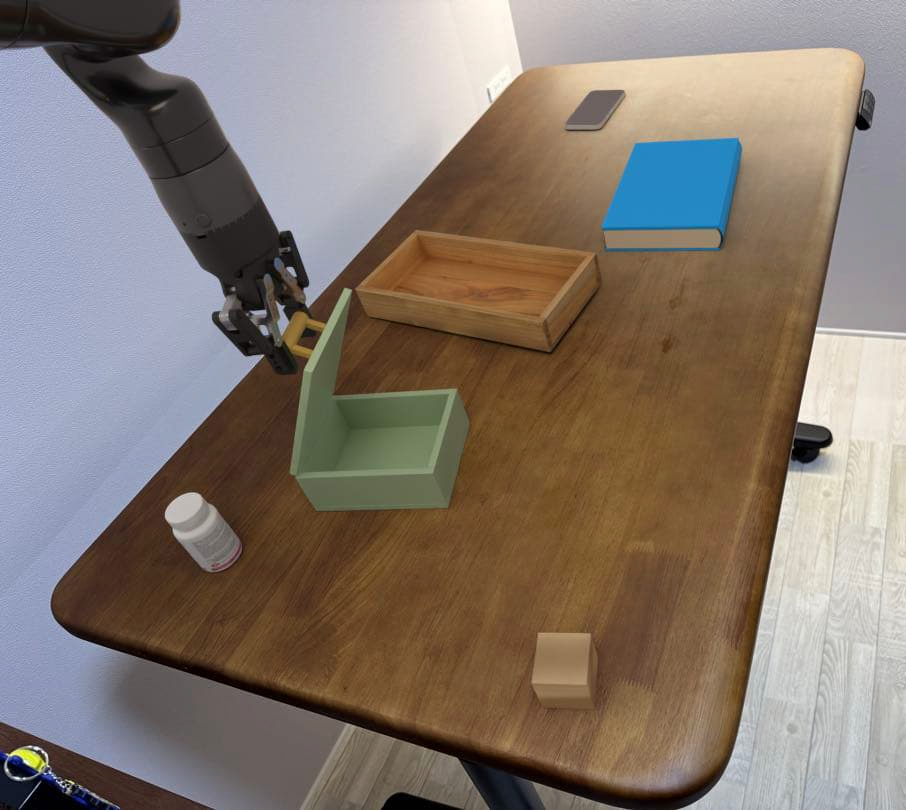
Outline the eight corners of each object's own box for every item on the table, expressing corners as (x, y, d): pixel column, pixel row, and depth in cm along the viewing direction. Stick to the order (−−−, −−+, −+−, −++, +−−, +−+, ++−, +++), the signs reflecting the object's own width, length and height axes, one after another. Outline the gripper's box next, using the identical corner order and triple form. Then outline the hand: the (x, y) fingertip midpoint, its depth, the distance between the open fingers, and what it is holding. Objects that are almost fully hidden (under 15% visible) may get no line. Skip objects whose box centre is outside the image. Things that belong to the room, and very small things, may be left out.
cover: (352, 289, 80) (308, 275, 79) (312, 372, 71) (262, 357, 71) (333, 394, 92) (294, 382, 91) (296, 476, 83) (253, 463, 82)
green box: (470, 423, 92) (457, 388, 88) (448, 508, 83) (432, 473, 80) (349, 429, 96) (331, 395, 92) (316, 511, 87) (294, 477, 83)
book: (600, 228, 110) (633, 141, 126) (605, 253, 113) (636, 165, 129) (724, 225, 104) (741, 134, 121) (725, 252, 107) (742, 159, 124)
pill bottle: (250, 537, 86) (214, 488, 80) (232, 574, 83) (193, 526, 77) (212, 536, 87) (174, 489, 81) (193, 573, 84) (152, 526, 78)
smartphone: (626, 89, 149) (600, 125, 140) (627, 94, 150) (600, 130, 140) (590, 90, 152) (562, 125, 143) (591, 94, 153) (563, 130, 143)
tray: (367, 318, 112) (353, 286, 108) (426, 258, 121) (415, 227, 117) (550, 358, 98) (542, 322, 94) (603, 287, 106) (597, 252, 103)
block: (594, 709, 65) (586, 684, 62) (541, 707, 66) (531, 683, 62) (598, 659, 68) (590, 633, 65) (548, 658, 69) (538, 632, 66)
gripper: (212, 170, 73) (291, 312, 84) (138, 258, 63) (238, 406, 74) (284, 159, 71) (354, 306, 83) (219, 247, 61) (309, 401, 73)
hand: (299, 352), depth 78 cm, fingers closed on cover, 5 cm apart
